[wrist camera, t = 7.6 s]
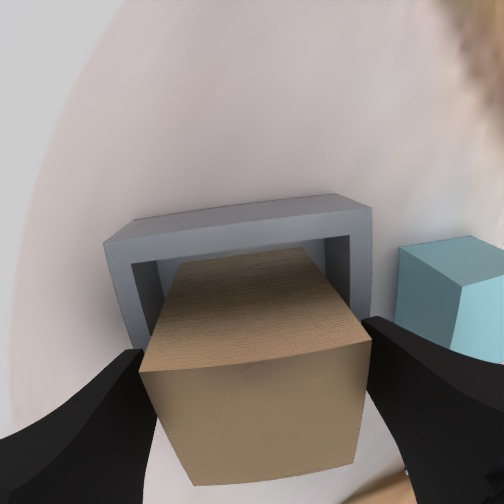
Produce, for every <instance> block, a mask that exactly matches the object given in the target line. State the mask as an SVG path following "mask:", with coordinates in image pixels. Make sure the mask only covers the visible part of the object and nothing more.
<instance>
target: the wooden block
mask: <svg viewBox="0 0 504 504" xmlns="http://www.w3.org/2000/svg"><path fill="white" fill-rule="evenodd" d="M371 344H372V339H371V337H370V336H369V335H368V333H367V332H366V331H365V329H364V328H363V326H362V325H361V324H360V322H359V321H358V320H357V318H356V317H355V316H354V314H353V313H352V312H351V310H350V309H349V308H348V306H347V305H346V303H345V302H344V301H343V299H342V298H341V297H340V295H339V294H338V293H337V292H336V290H335V289H334V288H333V286H332V285H331V284H330V282H329V281H328V280H327V278H326V277H325V276H324V274H323V273H322V272H321V271H320V269H319V268H318V267H317V265H316V264H315V263H314V261H313V260H312V259H311V258H310V256H309V255H308V254H307V252H306V251H305V250H304V249H303V247H302V246H301V247H294V248H286V249H279V250H272V251H265V252H257V253H250V254H243V255H235V256H228V257H221V258H213V259H206V260H199V261H191V262H184V263H181V264H180V266H179V268H178V271H177V273H176V276H175V278H174V280H173V283H172V285H171V288H170V290H169V293H168V295H167V298H166V300H165V303H164V305H163V308H162V310H161V313H160V316H159V318H158V321H157V323H156V326H155V329H154V331H153V334H152V336H151V339H150V342H149V345H148V347H147V350H146V353H145V355H144V358H143V361H142V364H141V366H140V369H139V374H140V376H141V379H142V381H143V384H144V386H145V389H146V391H147V393H148V396H149V398H150V400H151V403H152V405H153V407H154V409H155V412H156V414H157V416H158V418H159V420H160V422H161V424H162V427H163V429H164V431H165V433H166V435H167V437H168V439H169V441H170V443H171V445H172V447H173V449H174V451H175V453H176V455H177V456H178V458H179V460H180V462H181V464H182V466H183V468H184V469H185V471H186V473H187V475H188V477H189V478H190V480H191V482H192V484H193V485H194V486H207V485H227V484H240V483H250V482H259V481H267V480H275V479H281V478H288V477H293V476H299V475H304V474H309V473H314V472H319V471H324V470H328V469H332V468H336V467H340V466H344V465H348V464H352V463H353V460H354V456H355V451H356V446H357V441H358V436H359V431H360V425H361V419H362V414H363V407H364V401H365V394H366V387H367V380H368V372H369V363H370V354H371Z"/></svg>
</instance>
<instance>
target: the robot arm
mask: <svg viewBox="0 0 504 504" xmlns="http://www.w3.org/2000/svg"><path fill="white" fill-rule="evenodd" d="M361 325H362V326H363V328H364V329H365V331H366V332H367V333H368V335H369V336H370V337H371V339H372V344H371V354H370V363H369V372H368V380H367V387H366V390H367V392H368V393H369V395H370V397H371V399H372V401H373V402H374V404H375V406H376V408H377V409H378V411H379V413H380V415H381V416H382V418H383V420H384V422H385V423H386V425H387V427H388V429H389V430H390V432H391V434H392V436H393V438H394V440H395V442H396V444H397V446H398V448H399V451H400V453H401V456H402V458H403V461H404V464H405V466H406V471H405V473H406V475H409V478H410V481H411V484H412V487H413V490H414V494H415V497H416V501H417V504H504V365H502V364H497V363H492V362H488V361H484V360H480V359H476V358H473V357H470V356H467V355H464V354H461V353H458V352H455V351H453V350H450V349H448V348H445V347H443V346H440V345H438V344H436V343H434V342H431V341H429V340H427V339H425V338H423V337H421V336H419V335H417V334H415V333H413V332H411V331H409V330H407V329H405V328H403V327H401V326H399V325H397V324H395V323H393V322H391V321H389V320H386V319H384V318H382V317H380V316H374V317H370V318H365V319H361ZM144 355H145V354H144V351H143V349H126V350H125V351H124V352H122V353H121V354H120V355H119V356H118V357H116V358H115V359H114V360H113V361H112V362H111V363H110V364H109V365H108V366H107V367H105V368H104V369H103V370H102V371H101V372H100V373H99V374H98V375H97V376H96V377H95V378H93V379H92V380H91V381H90V382H89V383H88V384H87V385H86V386H84V387H83V388H82V389H81V390H80V391H78V392H77V393H76V394H75V395H74V396H72V397H71V398H70V399H69V400H68V401H66V402H65V403H64V404H62V405H61V406H60V407H58V408H57V409H56V410H54V411H53V412H51V413H50V414H48V415H47V416H45V417H44V418H42V419H40V420H39V421H37V422H35V423H33V424H31V425H29V426H28V427H26V428H24V429H22V430H20V431H18V432H16V433H14V434H12V435H10V436H7V437H5V438H3V439H0V504H143V488H144V478H145V472H146V467H147V462H148V458H149V453H150V449H151V444H152V440H153V436H154V431H155V427H156V422H157V414H156V412H155V409H154V407H153V405H152V403H151V400H150V398H149V396H148V393H147V391H146V389H145V386H144V384H143V381H142V379H141V376H140V374H139V369H140V366H141V364H142V361H143V358H144Z"/></svg>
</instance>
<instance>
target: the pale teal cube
mask: <svg viewBox="0 0 504 504" xmlns="http://www.w3.org/2000/svg"><path fill="white" fill-rule="evenodd" d="M394 323H395V324H397V325H399V326H401V327H403V328H405V329H407V330H409V331H411V332H413V333H415V334H417V335H419V336H421V337H423V338H425V339H427V340H429V341H431V342H434V343H436V344H438V345H440V346H443V347H445V348H448V349H450V350H453V351H455V352H458V353H461V354H464V355H467V356H470V357H473V358H476V359H480V360H484V361H488V362H492V363H497V364H498V363H500V362H502V361H504V250H502V249H500V248H497V247H495V246H493V245H491V244H489V243H486V242H484V241H482V240H480V239H477V238H475V237H473V236H466V237H460V238H454V239H448V240H441V241H435V242H429V243H422V244H416V245H409V246H403V247H400V248H399V270H398V286H397V298H396V309H395V318H394Z"/></svg>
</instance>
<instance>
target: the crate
mask: <svg viewBox="0 0 504 504" xmlns="http://www.w3.org/2000/svg"><path fill="white" fill-rule="evenodd" d="M103 246H104V250H105V254H106V258H107V262H108V266H109V270H110V274H111V278H112V281H113V285H114V289H115V292H116V296H117V299H118V302H119V306H120V309H121V312H122V315H123V319H124V322H125V325H126V328H127V331H128V334H129V337H130V340H131V343H132V346H133V348H134V349H143V351H144V354H145V353H146V350H147V347H148V345H149V342H150V339H151V336H152V334H153V331H154V329H155V326H156V323H157V321H158V318H159V316H160V313H161V310H162V308H163V305H164V303H165V300H166V298H167V295H168V293H169V290H170V288H171V285H172V283H173V280H174V278H175V276H176V273H177V271H178V268H179V266H180V264H181V263H184V262H191V261H199V260H206V259H213V258H221V257H228V256H235V255H243V254H250V253H257V252H265V251H272V250H279V249H286V248H294V247H301V246H302V247H303V249H304V250H305V251H306V252H307V254H308V255H309V256H310V258H311V259H312V260H313V261H314V263H315V264H316V265H317V267H318V268H319V269H320V271H321V272H322V273H323V274H324V276H325V277H326V278H327V280H328V281H329V282H330V284H331V285H332V286H333V288H334V289H335V290H336V292H337V293H338V294H339V295H340V297H341V298H342V299H343V301H344V302H345V303H346V305H347V306H348V308H349V309H350V310H351V312H352V313H353V314H354V316H355V317H356V318H357V320H358V321H359V322H360V324H361V319H365V318H369V317H370V300H371V275H372V210H371V207H368V206H366V205H363V204H361V203H358V202H356V201H353V200H351V199H348V198H346V197H343V196H341V195H338V194H329V195H318V196H308V197H299V198H290V199H281V200H272V201H263V202H255V203H247V204H239V205H232V206H224V207H217V208H210V209H202V210H195V211H189V212H182V213H175V214H169V215H163V216H156V217H150V218H144V219H138V220H133V221H132V222H130V223H129V224H128V225H126V226H125V227H123V228H122V229H121V230H119V231H118V232H117V233H115V234H114V235H113V236H111V237H110V238H109V239H107V240H106V241H105V242H104V243H103Z"/></svg>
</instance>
